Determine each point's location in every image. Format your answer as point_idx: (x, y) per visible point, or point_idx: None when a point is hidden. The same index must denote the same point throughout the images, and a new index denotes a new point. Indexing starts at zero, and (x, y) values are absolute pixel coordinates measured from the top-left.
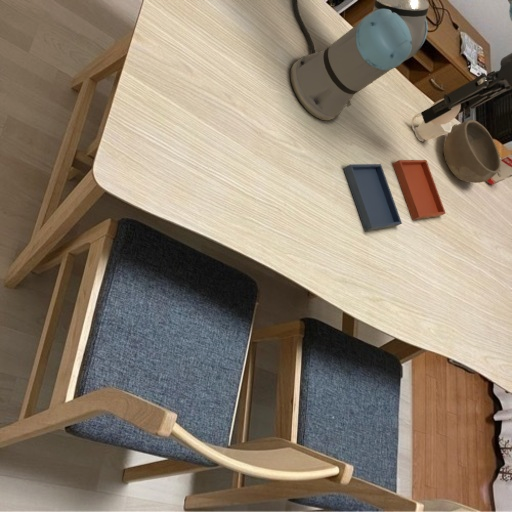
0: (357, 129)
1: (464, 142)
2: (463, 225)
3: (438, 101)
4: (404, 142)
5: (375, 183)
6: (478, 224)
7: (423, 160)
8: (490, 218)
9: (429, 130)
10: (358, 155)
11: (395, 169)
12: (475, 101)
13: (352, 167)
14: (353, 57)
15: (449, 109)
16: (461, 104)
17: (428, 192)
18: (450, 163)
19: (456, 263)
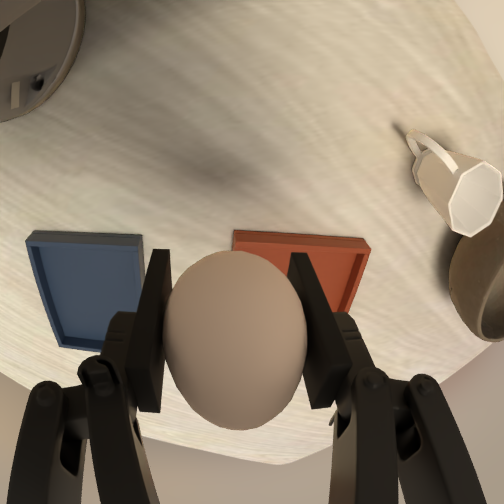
0: (126, 127)
1: (488, 273)
2: (389, 353)
3: (191, 293)
4: (344, 178)
5: (118, 274)
6: (431, 349)
7: (357, 249)
8: (468, 339)
9: (430, 191)
10: (94, 202)
11: (232, 247)
12: (331, 490)
13: (29, 247)
14: None
15: (140, 408)
16: (341, 383)
17: None
18: (451, 265)
19: (304, 396)
